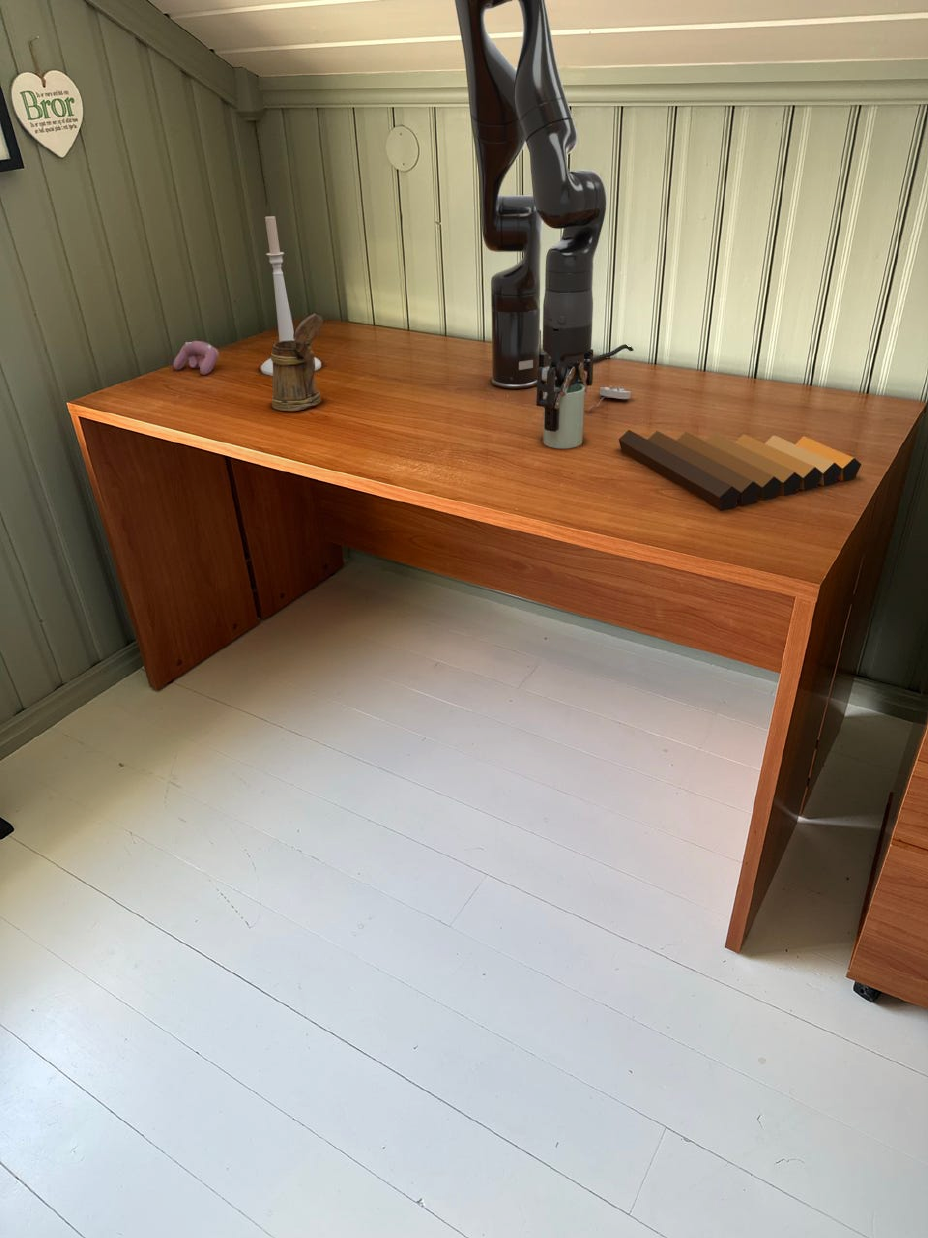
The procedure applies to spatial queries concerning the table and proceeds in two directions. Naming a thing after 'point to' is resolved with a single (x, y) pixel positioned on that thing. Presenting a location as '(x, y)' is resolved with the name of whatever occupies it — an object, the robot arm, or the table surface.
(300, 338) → the wooden mug
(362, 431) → the table surface
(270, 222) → the candlestick
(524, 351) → the robot arm
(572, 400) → the cup
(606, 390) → the game controller
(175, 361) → the video game controller
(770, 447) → the pan flute
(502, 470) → the table surface
